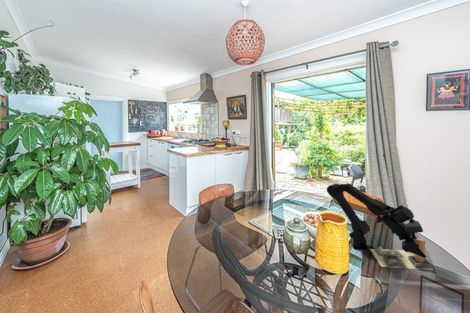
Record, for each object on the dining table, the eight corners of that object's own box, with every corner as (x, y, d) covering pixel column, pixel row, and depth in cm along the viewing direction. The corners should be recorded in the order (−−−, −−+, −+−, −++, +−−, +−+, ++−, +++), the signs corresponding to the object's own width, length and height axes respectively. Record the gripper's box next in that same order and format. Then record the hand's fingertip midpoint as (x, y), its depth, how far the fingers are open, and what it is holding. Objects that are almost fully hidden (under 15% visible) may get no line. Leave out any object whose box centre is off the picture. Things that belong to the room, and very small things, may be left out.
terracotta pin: (417, 265, 98) (418, 242, 96) (412, 261, 101) (413, 238, 99) (426, 266, 97) (427, 242, 95) (421, 261, 100) (422, 238, 99)
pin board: (381, 268, 100) (381, 262, 99) (369, 250, 114) (369, 245, 113) (433, 272, 94) (434, 266, 94) (415, 253, 108) (415, 247, 108)
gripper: (412, 225, 90) (446, 255, 86) (407, 209, 105) (436, 233, 101) (389, 237, 96) (420, 266, 91) (388, 220, 111) (414, 244, 106)
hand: (423, 251), depth 97 cm, fingers open, 9 cm apart
